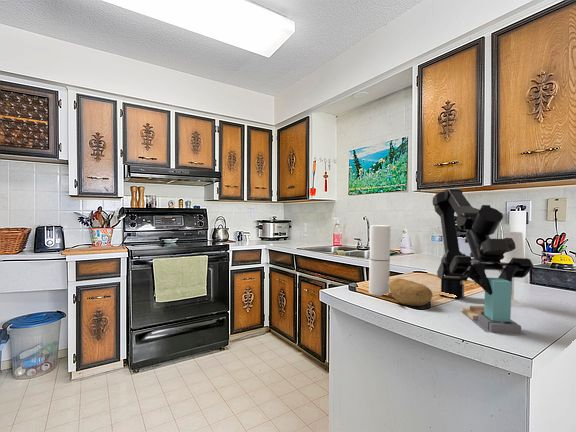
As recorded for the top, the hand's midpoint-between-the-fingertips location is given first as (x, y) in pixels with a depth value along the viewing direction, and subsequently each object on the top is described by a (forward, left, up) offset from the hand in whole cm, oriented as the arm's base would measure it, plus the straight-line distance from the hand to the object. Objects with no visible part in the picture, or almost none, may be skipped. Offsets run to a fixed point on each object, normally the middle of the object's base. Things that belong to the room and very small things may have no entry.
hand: (500, 294), depth 76 cm
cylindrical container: (-39, +11, -10) cm, 42 cm away
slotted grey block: (-3, +4, -10) cm, 11 cm away
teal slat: (-1, +1, -7) cm, 7 cm away
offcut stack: (-5, +7, -9) cm, 12 cm away
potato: (-25, +5, -10) cm, 27 cm away
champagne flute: (-2, +31, -10) cm, 33 cm away
